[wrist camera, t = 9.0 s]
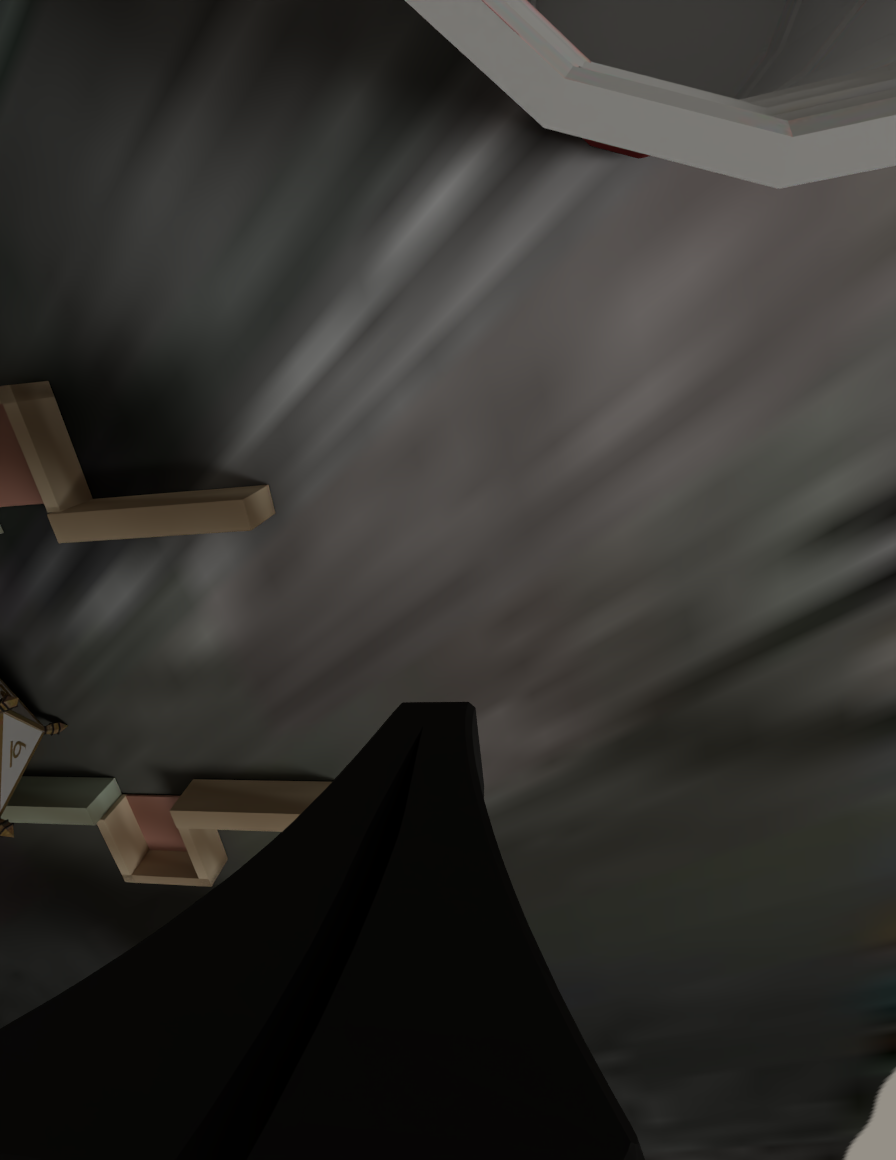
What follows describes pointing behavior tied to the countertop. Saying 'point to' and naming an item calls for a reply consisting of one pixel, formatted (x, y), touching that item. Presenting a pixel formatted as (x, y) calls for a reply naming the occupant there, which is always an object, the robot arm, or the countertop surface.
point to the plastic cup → (697, 78)
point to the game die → (17, 746)
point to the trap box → (54, 478)
